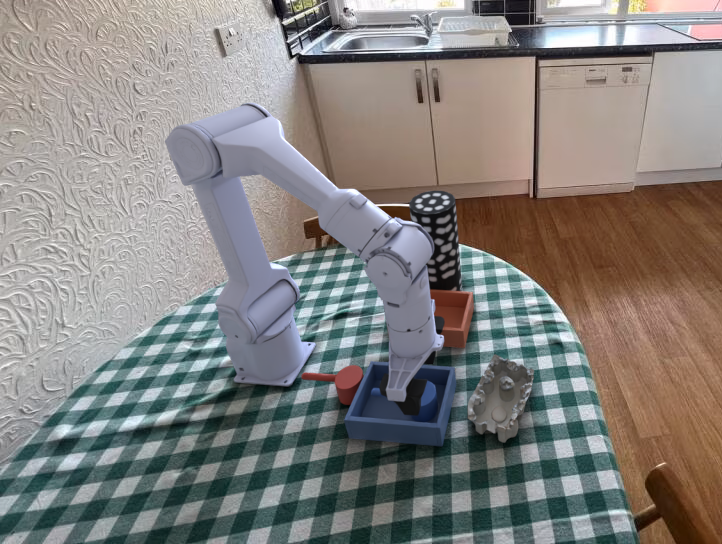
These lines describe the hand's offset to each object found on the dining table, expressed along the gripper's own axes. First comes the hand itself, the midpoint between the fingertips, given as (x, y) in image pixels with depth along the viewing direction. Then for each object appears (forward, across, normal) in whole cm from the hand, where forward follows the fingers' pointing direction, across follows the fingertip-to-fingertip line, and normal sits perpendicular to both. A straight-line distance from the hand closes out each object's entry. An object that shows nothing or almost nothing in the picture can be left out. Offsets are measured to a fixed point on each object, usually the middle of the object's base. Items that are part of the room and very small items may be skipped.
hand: (419, 386), depth 58 cm
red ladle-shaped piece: (+6, +2, +14) cm, 16 cm away
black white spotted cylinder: (-5, +26, +4) cm, 26 cm away
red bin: (+6, +16, +3) cm, 17 cm away
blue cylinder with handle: (+5, 0, +3) cm, 6 cm away
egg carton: (+6, +2, -11) cm, 13 cm away
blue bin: (+6, 0, +3) cm, 6 cm away
